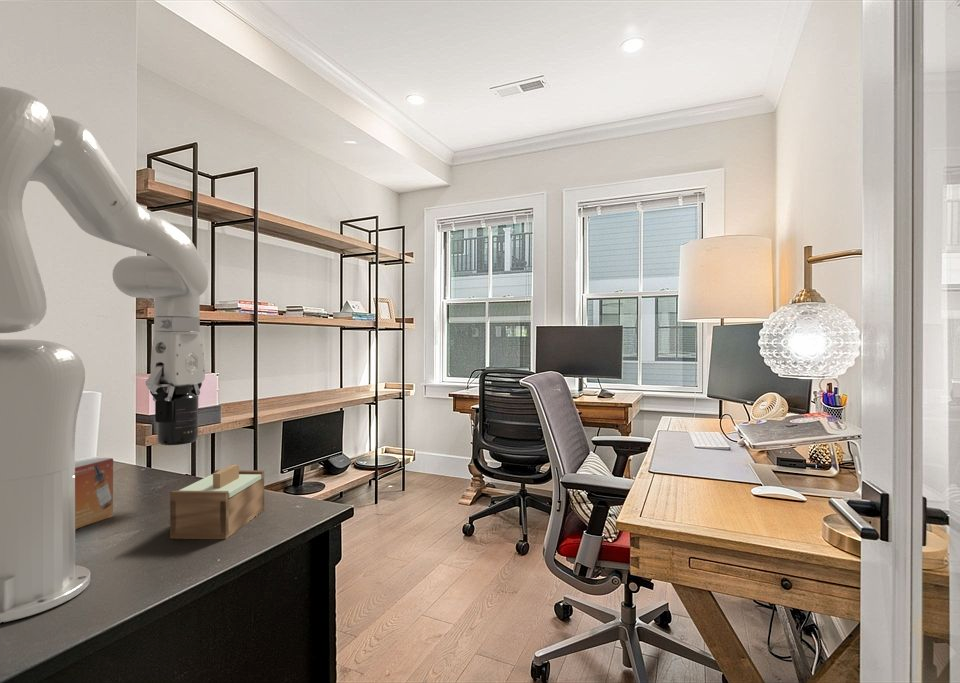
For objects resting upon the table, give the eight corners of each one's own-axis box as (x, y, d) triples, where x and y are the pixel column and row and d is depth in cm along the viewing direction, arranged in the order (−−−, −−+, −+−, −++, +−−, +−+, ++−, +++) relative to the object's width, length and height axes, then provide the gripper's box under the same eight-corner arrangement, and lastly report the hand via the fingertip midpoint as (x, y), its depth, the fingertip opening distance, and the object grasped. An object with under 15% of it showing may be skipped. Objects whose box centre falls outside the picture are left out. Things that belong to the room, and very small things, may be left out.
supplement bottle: (149, 443, 94) (149, 381, 93) (185, 437, 100) (184, 378, 100) (170, 447, 90) (170, 382, 90) (205, 440, 96) (205, 379, 96)
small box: (68, 533, 80) (68, 469, 80) (41, 530, 81) (41, 467, 81) (114, 515, 88) (114, 457, 87) (89, 513, 89) (89, 455, 89)
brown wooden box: (225, 539, 77) (225, 492, 77) (170, 538, 78) (170, 492, 78) (264, 510, 90) (264, 470, 90) (216, 509, 91) (216, 470, 91)
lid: (229, 497, 78) (229, 478, 78) (174, 497, 79) (174, 477, 79) (261, 478, 89) (261, 461, 89) (213, 478, 90) (212, 460, 89)
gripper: (166, 326, 86) (166, 427, 86) (221, 327, 103) (221, 412, 103) (124, 326, 86) (125, 426, 86) (186, 327, 104) (186, 411, 104)
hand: (177, 417), depth 95 cm, fingers closed on supplement bottle, 6 cm apart
